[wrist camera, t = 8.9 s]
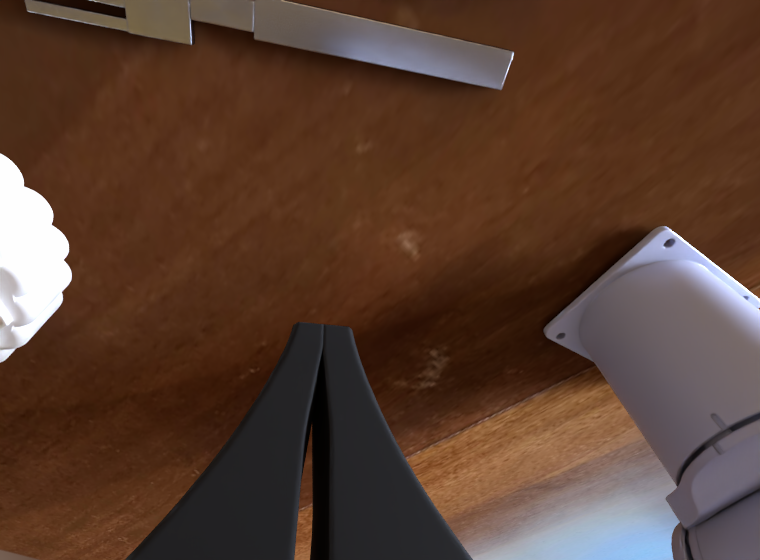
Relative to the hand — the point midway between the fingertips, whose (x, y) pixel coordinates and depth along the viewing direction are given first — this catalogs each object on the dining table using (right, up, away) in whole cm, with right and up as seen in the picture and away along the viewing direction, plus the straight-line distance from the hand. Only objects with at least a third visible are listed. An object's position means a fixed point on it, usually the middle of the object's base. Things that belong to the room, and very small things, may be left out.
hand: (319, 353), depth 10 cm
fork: (-2, +11, +4) cm, 11 cm away
